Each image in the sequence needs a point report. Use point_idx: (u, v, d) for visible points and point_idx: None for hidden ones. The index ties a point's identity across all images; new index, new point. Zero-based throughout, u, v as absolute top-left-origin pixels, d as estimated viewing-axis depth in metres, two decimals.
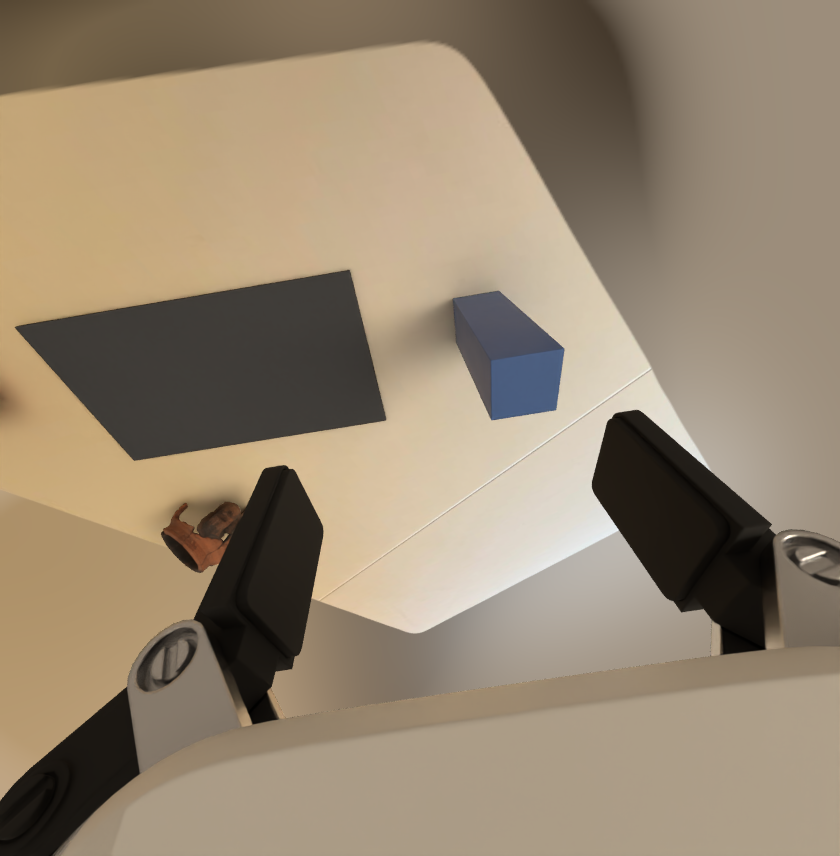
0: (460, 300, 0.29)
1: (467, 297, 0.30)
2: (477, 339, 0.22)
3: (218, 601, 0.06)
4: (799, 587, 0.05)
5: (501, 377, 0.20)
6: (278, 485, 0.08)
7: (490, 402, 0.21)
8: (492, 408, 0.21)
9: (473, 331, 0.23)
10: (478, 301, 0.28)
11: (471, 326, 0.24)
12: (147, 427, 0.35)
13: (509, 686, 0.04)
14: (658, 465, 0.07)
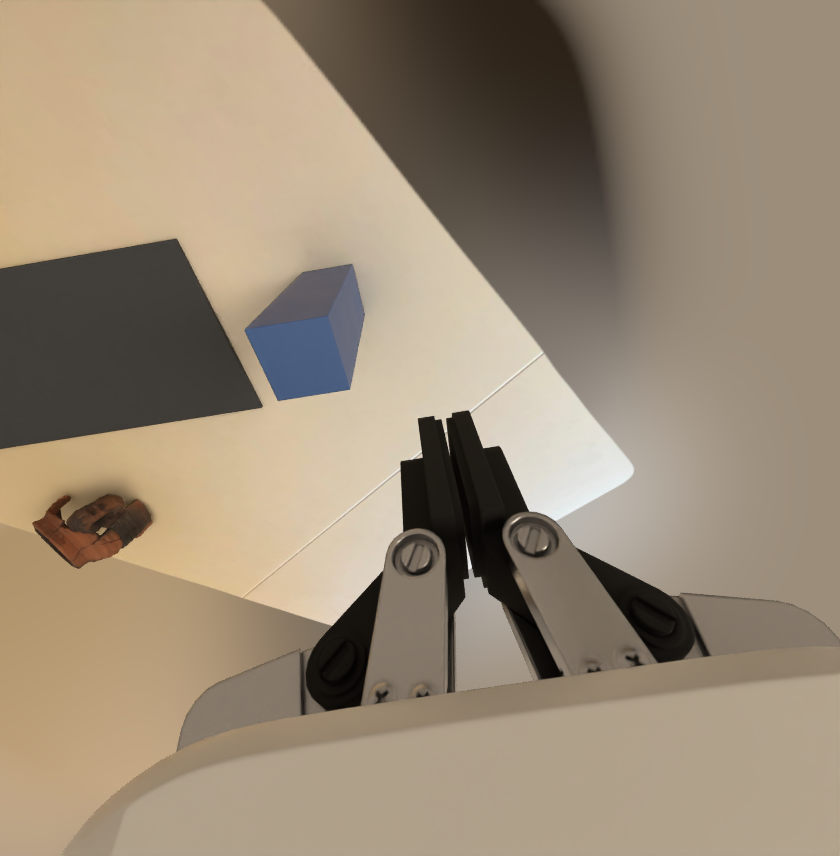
0: (306, 273, 0.27)
1: (316, 271, 0.27)
2: (265, 309, 0.20)
3: (443, 512, 0.07)
4: (536, 575, 0.06)
5: (266, 350, 0.17)
6: (439, 431, 0.09)
7: None
8: (272, 387, 0.19)
9: (272, 302, 0.21)
10: (319, 274, 0.26)
11: (277, 297, 0.21)
12: None
13: (509, 686, 0.04)
14: (458, 459, 0.08)
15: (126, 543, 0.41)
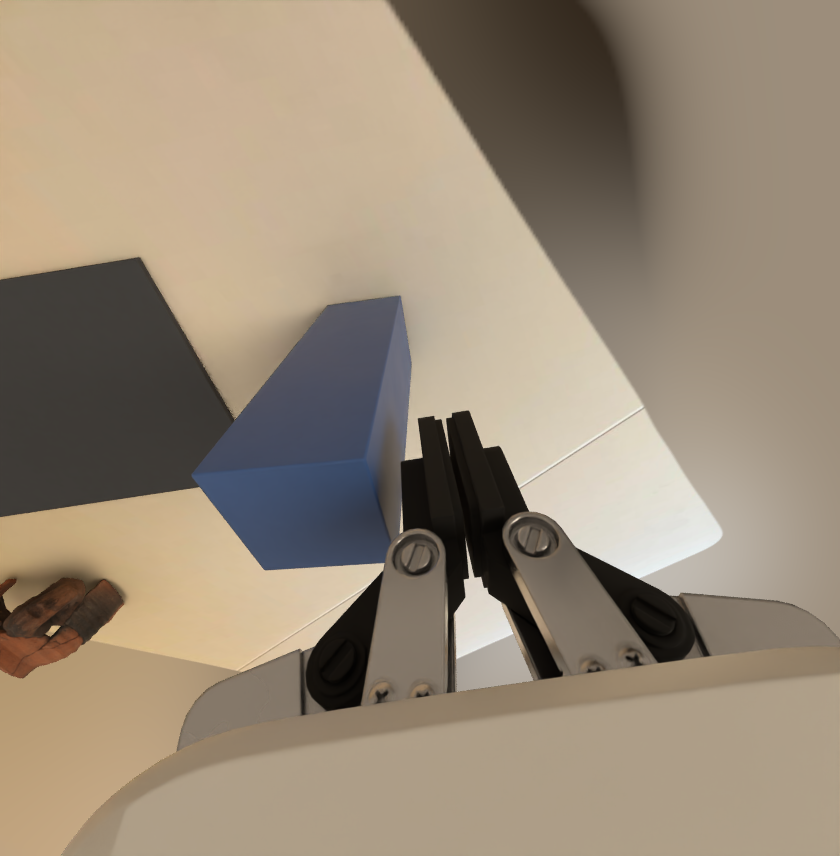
0: (331, 309, 0.18)
1: (346, 304, 0.19)
2: None
3: (443, 512, 0.07)
4: (536, 574, 0.06)
5: (237, 506, 0.09)
6: (439, 431, 0.09)
7: None
8: (253, 554, 0.10)
9: (270, 378, 0.12)
10: (352, 313, 0.17)
11: (280, 365, 0.13)
12: None
13: (509, 686, 0.04)
14: (458, 459, 0.08)
15: (88, 638, 0.32)
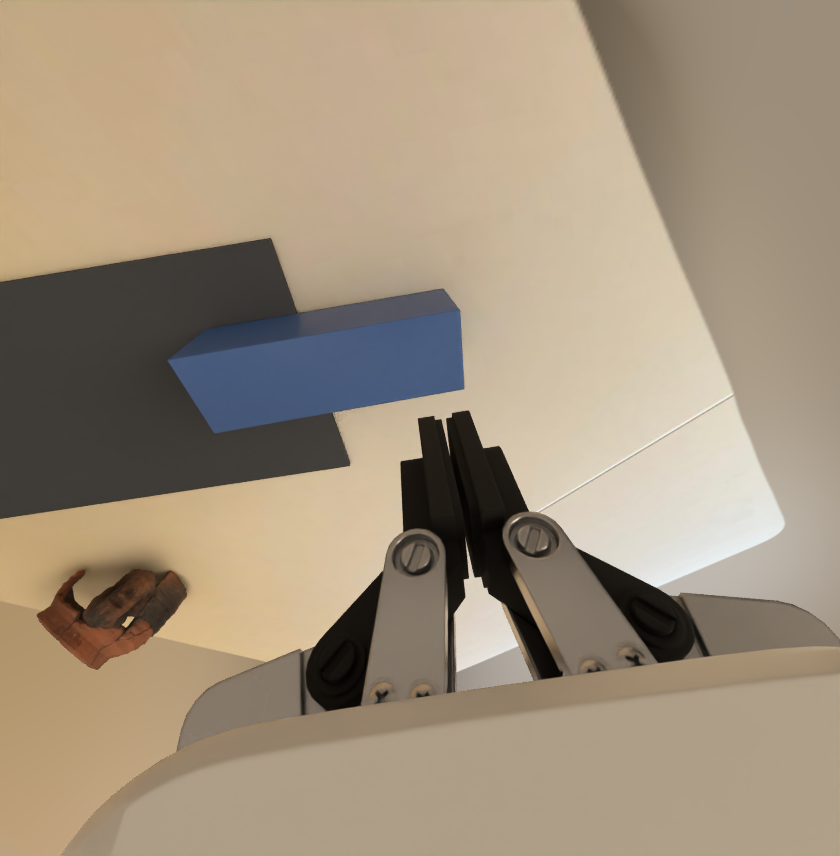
0: (426, 293, 0.19)
1: (438, 295, 0.18)
2: None
3: (443, 512, 0.07)
4: (536, 574, 0.06)
5: None
6: (438, 430, 0.09)
7: None
8: None
9: (291, 314, 0.19)
10: (408, 303, 0.17)
11: None
12: None
13: (509, 686, 0.04)
14: (458, 459, 0.08)
15: (157, 630, 0.32)
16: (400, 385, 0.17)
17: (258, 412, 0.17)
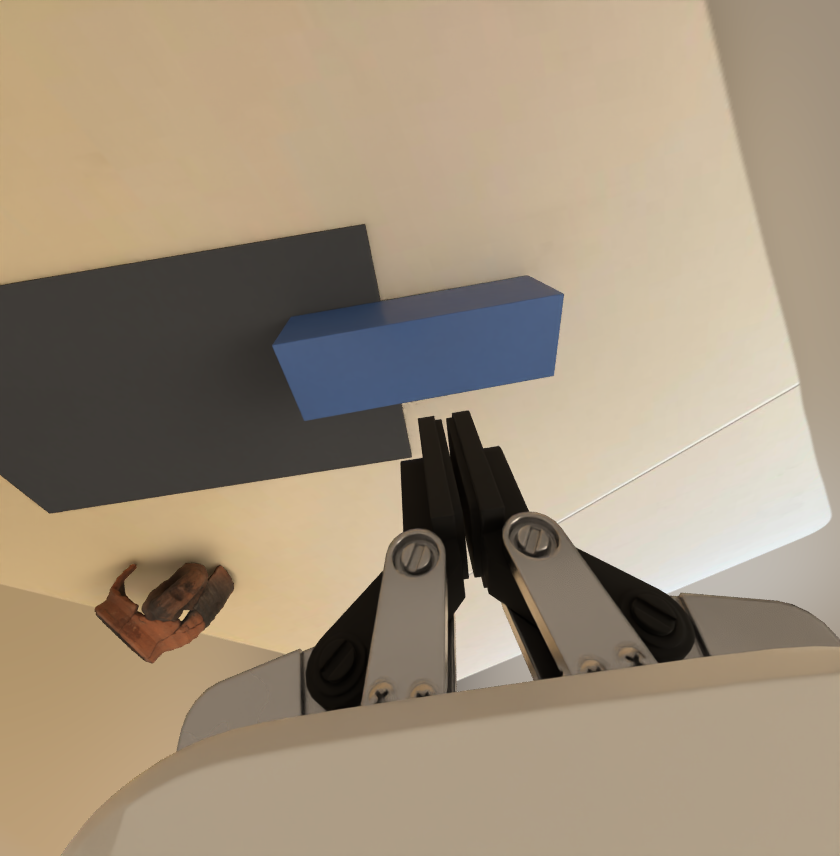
0: (513, 280, 0.18)
1: (528, 281, 0.18)
2: (352, 307, 0.19)
3: (443, 512, 0.07)
4: (536, 574, 0.06)
5: None
6: (439, 431, 0.09)
7: None
8: None
9: (376, 302, 0.19)
10: (500, 289, 0.17)
11: (393, 299, 0.19)
12: (60, 470, 0.24)
13: (509, 686, 0.04)
14: (458, 459, 0.08)
15: (208, 624, 0.32)
16: (492, 371, 0.17)
17: (350, 399, 0.17)
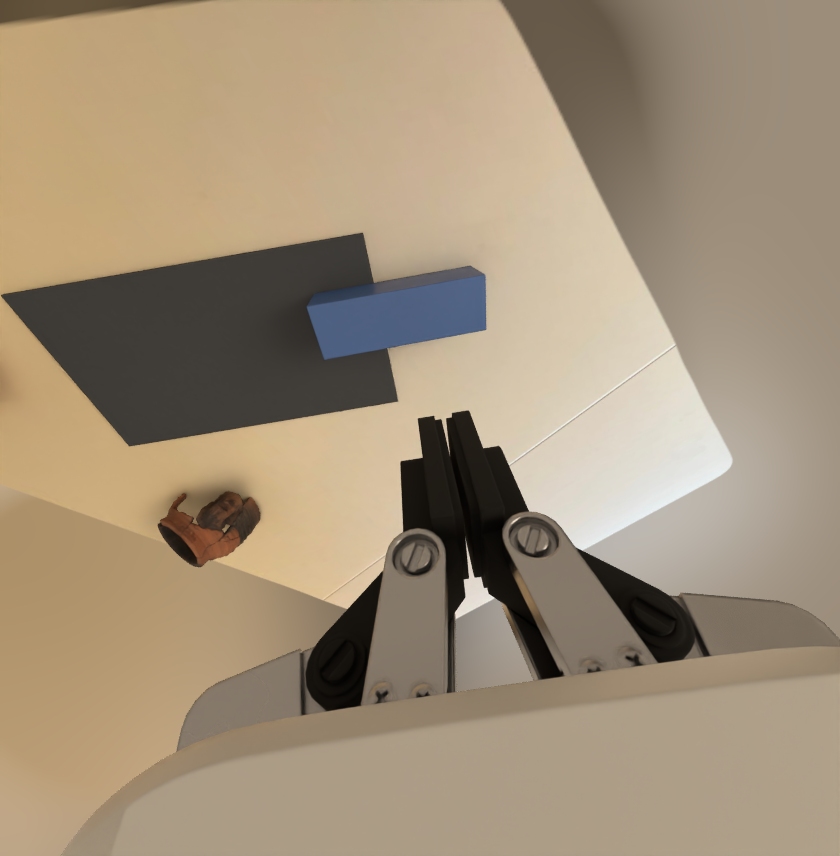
0: (460, 268, 0.28)
1: (468, 269, 0.28)
2: (354, 287, 0.28)
3: (443, 512, 0.07)
4: (536, 575, 0.06)
5: None
6: (439, 430, 0.09)
7: None
8: None
9: (370, 284, 0.28)
10: (449, 274, 0.27)
11: None
12: (144, 409, 0.33)
13: (509, 686, 0.04)
14: (458, 459, 0.08)
15: (242, 541, 0.41)
16: (445, 326, 0.27)
17: (354, 344, 0.27)
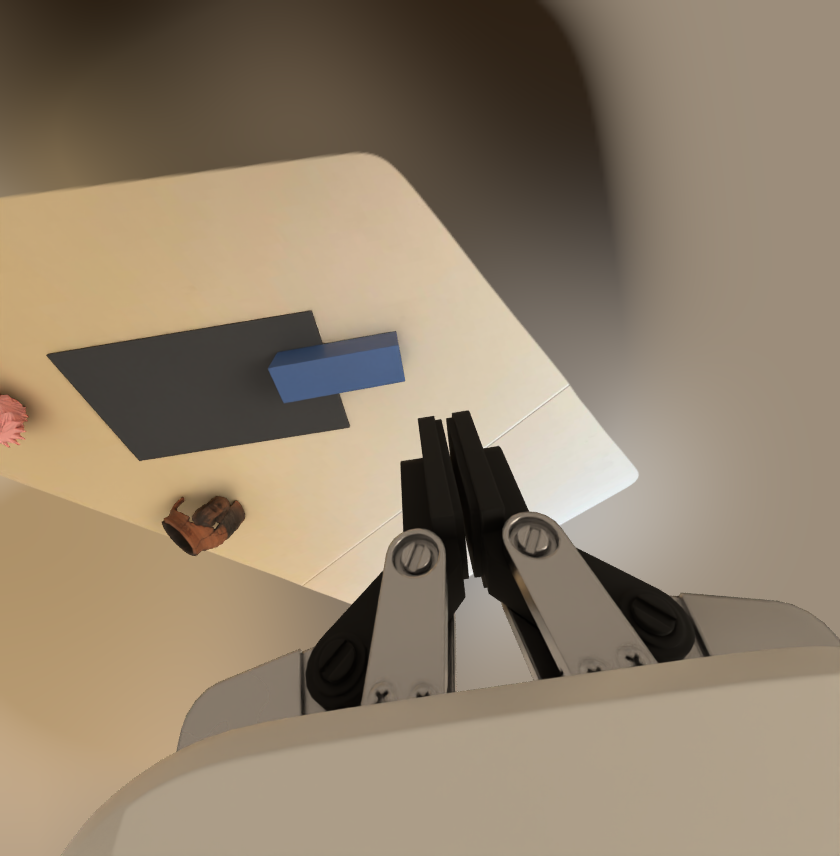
0: (387, 334, 0.37)
1: (392, 335, 0.37)
2: (308, 347, 0.38)
3: (443, 512, 0.07)
4: (536, 575, 0.06)
5: None
6: (438, 431, 0.09)
7: None
8: None
9: None
10: (376, 340, 0.36)
11: (328, 343, 0.38)
12: (150, 433, 0.43)
13: (509, 686, 0.04)
14: (458, 459, 0.08)
15: (229, 535, 0.51)
16: (373, 379, 0.36)
17: (305, 392, 0.36)
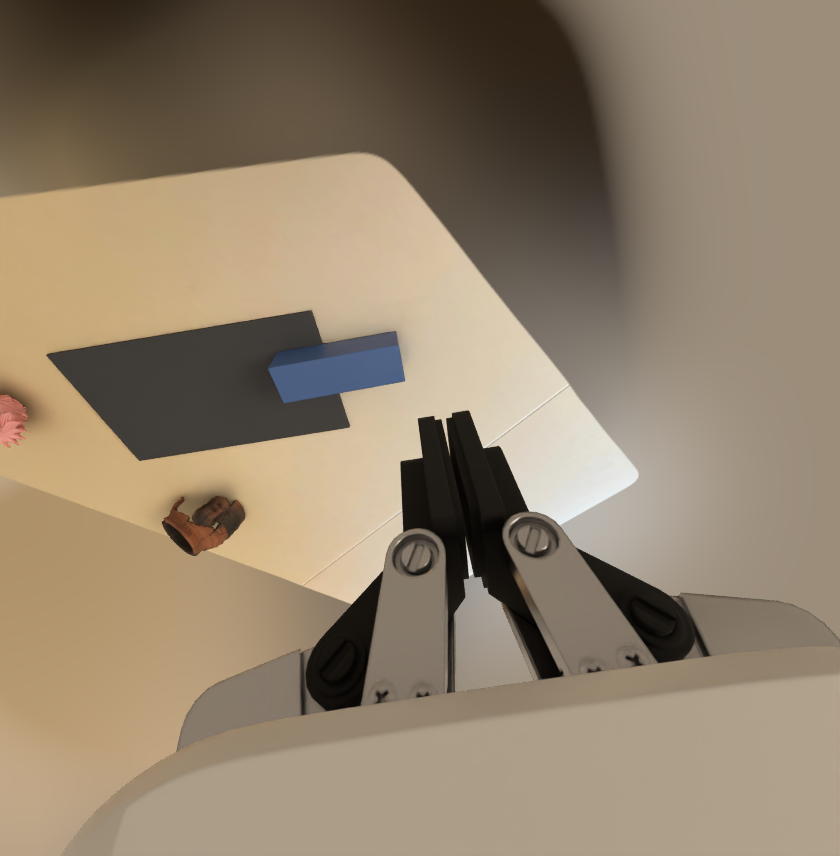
0: (387, 334, 0.37)
1: (392, 335, 0.37)
2: (308, 347, 0.38)
3: (443, 512, 0.07)
4: (536, 575, 0.06)
5: None
6: (438, 430, 0.09)
7: None
8: None
9: None
10: (376, 340, 0.36)
11: (328, 343, 0.38)
12: (150, 433, 0.43)
13: (509, 686, 0.04)
14: (458, 459, 0.08)
15: (229, 535, 0.51)
16: (373, 379, 0.36)
17: (305, 392, 0.36)
